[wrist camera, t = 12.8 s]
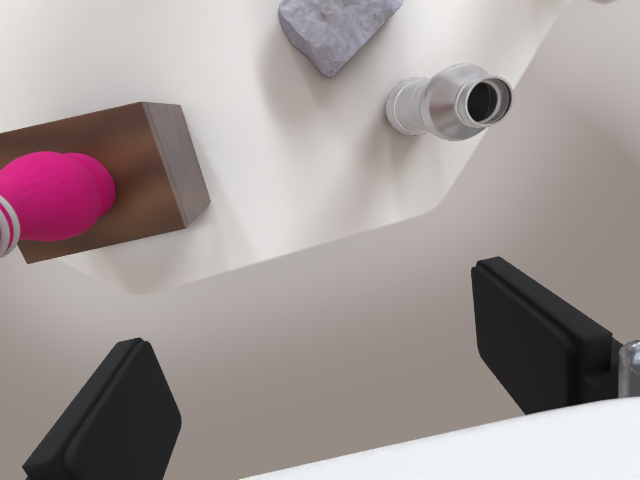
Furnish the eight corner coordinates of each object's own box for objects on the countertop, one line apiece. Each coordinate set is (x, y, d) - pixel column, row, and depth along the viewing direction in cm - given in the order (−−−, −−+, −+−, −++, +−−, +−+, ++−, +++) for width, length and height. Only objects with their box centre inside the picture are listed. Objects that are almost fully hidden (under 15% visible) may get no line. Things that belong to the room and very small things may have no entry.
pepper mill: (72, 236, 36) (-165, 367, 17) (22, 168, 34) (-313, 235, 15) (137, 204, 36) (-35, 304, 17) (90, 133, 34) (-168, 156, 15)
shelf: (48, 134, 45) (-36, 141, 33) (180, 104, 45) (141, 101, 33) (89, 228, 48) (26, 264, 37) (210, 201, 48) (185, 228, 37)
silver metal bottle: (377, 87, 46) (438, 67, 27) (431, 72, 45) (530, 42, 27) (387, 140, 48) (450, 156, 29) (438, 126, 48) (536, 134, 29)
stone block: (271, 26, 44) (332, 88, 45) (263, 7, 39) (331, 77, 40) (343, -56, 42) (404, 10, 43) (344, -86, 38) (413, -11, 38)
